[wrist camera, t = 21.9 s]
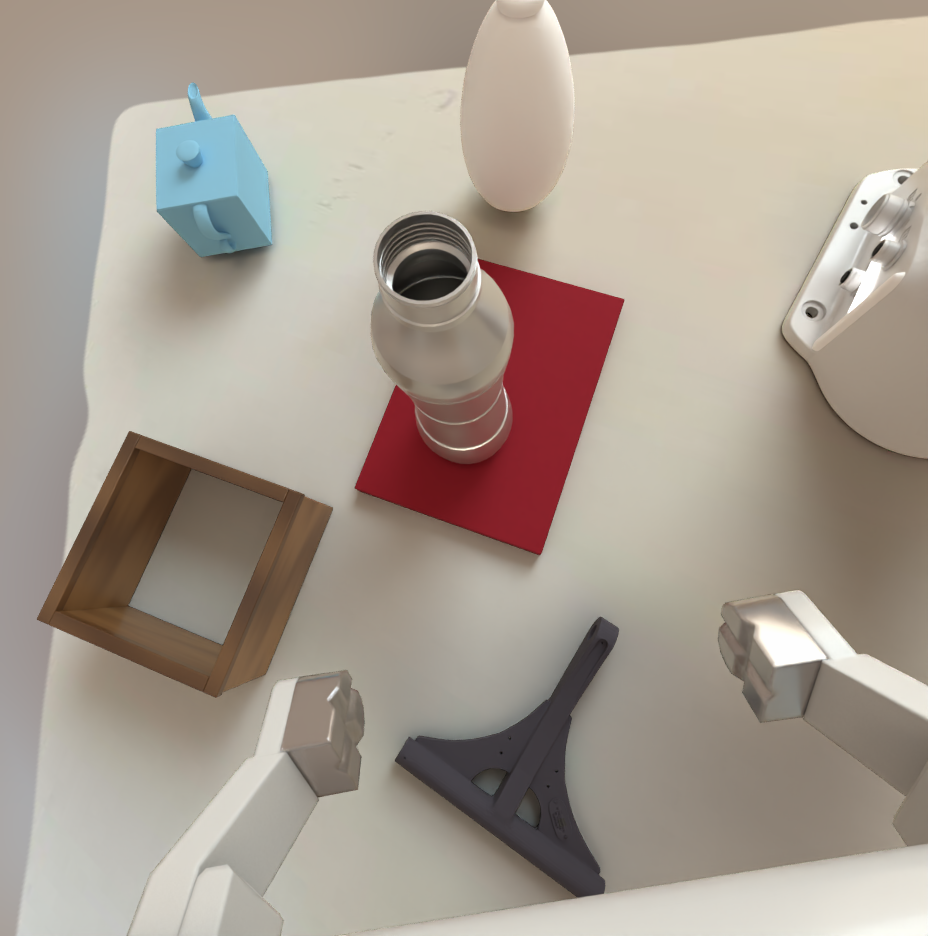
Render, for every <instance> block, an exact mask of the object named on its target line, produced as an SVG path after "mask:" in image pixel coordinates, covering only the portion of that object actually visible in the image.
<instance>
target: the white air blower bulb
mask: <svg viewBox="0 0 928 936" xmlns="http://www.w3.org/2000/svg"><path fill="white" fill-rule="evenodd" d="M574 111H575V95H574V84H573V76H572V69H571V63H570V58H569V54H568V49H567V45H566V42H565V39H564V36H563V33H562V30H561V28H560V25H559V22H558V20H557V17H556V15H555V13H554V11H553V9H552V8H551V6H550V4H549V3H548V2H547V0H496V1H495V2H494V3H493V5H492V6H491V8H490V10H489V11H488V13H487V14H486V17H485V18H484V20H483V22H482V24H481V27H480V29H479V31H478V34H477V36H476V40H475V42H474V45H473V48H472V51H471V54H470V57H469V61H468V65H467V69H466V73H465V78H464V84H463V91H462V99H461V110H460V129H461V141H462V150H463V155H464V159H465V163H466V166H467V170H468V173H469V176H470V178H471V180H472V182H473V184H474V186H475V187H476V189H477V191H478V192H479V194H480V195H481V196H482V197H483V198H484V199H485V200H486V201H487V202H488V203H489V204H490V205H492V206H493V207H495V208H497V209H499V210H502V211H508V212H518V211H524V210H528V209H530V208H532V207H535V206H536V205H537V204H539V203H540V202H541V201H543V200H544V199H545V198H546V197H547V195H548V194H549V193H550V192H551V191H552V189H553V188H554V187H555V185H556V183H557V181H558V180H559V178H560V176H561V174H562V172H563V169H564V167H565V164H566V161H567V157H568V154H569V150H570V146H571V142H572V135H573V127H574Z"/></svg>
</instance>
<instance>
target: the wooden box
mask: <svg viewBox="0 0 928 936" xmlns="http://www.w3.org/2000/svg"><path fill="white" fill-rule="evenodd" d="M191 469H194V470H197V471H199V472H202V473H205V474H208V475H210V476H213V477H216V478H218V479H221V480H224V481H227V482H229V483H232V484H235V485H237V486H240V487H243V488H246V489H248V490H251V491H254V492H256V493H259V494H262V495H265V496H267V497H270V498H273V499H275V500H278V501H281V502H284V503H283V505H282V508H281V510H280V512H279V515H278V517H277V520H276V522H275V524H274V527H273V529H272V531H271V534H270V536H269V538H268V541H267V543H266V545H265V548H264V550H263V552H262V555H261V557H260V559H259V562H258V564H257V567H256V569H255V571H254V574H253V576H252V578H251V581H250V583H249V585H248V588H247V590H246V592H245V595H244V597H243V599H242V602H241V604H240V607H239V609H238V611H237V614H236V616H235V618H234V621H233V623H232V625H231V628H230V630H229V632H228V635H227V637H226V639H225V642H224V644H223V645H220V644H218V643H215V642H213V641H211V640H208V639H206V638H203V637H201V636H199V635H196V634H194V633H192V632H189V631H187V630H184V629H182V628H180V627H177V626H175V625H173V624H170V623H168V622H165V621H163V620H161V619H158V618H156V617H153V616H151V615H149V614H146V613H144V612H142V611H139V610H137V609H134V608H132V607H130V606H128V604H129V602H130V600H131V598H132V596H133V593H134V591H135V589H136V587H137V585H138V583H139V580H140V578H141V576H142V574H143V572H144V570H145V568H146V565H147V563H148V561H149V559H150V557H151V555H152V552H153V550H154V548H155V546H156V544H157V542H158V540H159V537H160V535H161V533H162V531H163V529H164V527H165V524H166V522H167V520H168V518H169V516H170V514H171V511H172V509H173V507H174V505H175V503H176V501H177V499H178V496H179V494H180V492H181V490H182V488H183V486H184V483H185V481H186V479H187V477H188V475H189V473H190V471H191ZM332 510H333V508H332V507H330V506H327V505H325V504H322V503H320V502H317V501H315V500H312V499H310V498H307V497H305V495H304V494H302V493H299V492H297V491H294V490H291V489H288V488H286V487H283V486H280V485H277V484H275V483H272V482H269V481H266V480H264V479H261V478H258V477H255V476H253V475H250V474H247V473H244V472H242V471H239V470H236V469H233V468H230V467H228V466H225V465H222V464H219V463H217V462H214V461H211V460H208V459H206V458H203V457H200V456H197V455H195V454H192V453H189V452H186V451H184V450H181V449H178V448H175V447H173V446H170V445H167V444H164V443H162V442H159V441H156V440H153V439H151V438H148V437H145V436H142V435H140V434H137V433H134V432H131V431H129V433H128V435H127V437H126V439H125V441H124V443H123V445H122V447H121V449H120V451H119V453H118V455H117V457H116V459H115V461H114V463H113V465H112V467H111V469H110V471H109V473H108V475H107V477H106V479H105V481H104V483H103V485H102V487H101V490H100V492H99V494H98V496H97V498H96V500H95V502H94V504H93V506H92V508H91V510H90V512H89V514H88V516H87V518H86V520H85V522H84V524H83V526H82V528H81V530H80V532H79V534H78V536H77V538H76V540H75V542H74V544H73V546H72V548H71V550H70V552H69V554H68V556H67V559H66V561H65V563H64V565H63V567H62V569H61V571H60V573H59V575H58V577H57V579H56V581H55V583H54V585H53V587H52V589H51V591H50V593H49V595H48V597H47V599H46V601H45V603H44V605H43V607H42V609H41V612H40V613H39V616H38V617H37V620H39V621H41V622H44V623H46V624H49V625H50V626H53V627H55V628H57V629H60V630H62V631H64V632H66V633H69V634H71V635H73V636H76V637H78V638H80V639H82V640H85V641H87V642H89V643H92V644H94V645H96V646H98V647H101V648H103V649H105V650H108V651H110V652H112V653H115V654H117V655H119V656H121V657H124V658H126V659H128V660H131V661H133V662H135V663H137V664H140V665H142V666H144V667H147V668H149V669H151V670H153V671H156V672H158V673H160V674H163V675H165V676H167V677H169V678H172V679H174V680H176V681H179V682H181V683H183V684H185V685H188V686H190V687H192V688H195V689H197V690H199V691H202V692H204V693H206V694H209V695H211V696H213V697H215V698H217V697H219V696H221V695H222V692H224V691H227V690H229V689H232V688H234V687H236V686H239V685H241V684H244V683H246V682H248V681H251V680H253V679H256V678H258V677H260V676H263V675H265V674H266V672H267V669H268V667H269V665H270V662H271V660H272V657H273V655H274V652H275V650H276V647H277V645H278V642H279V640H280V638H281V635H282V633H283V630H284V628H285V625H286V623H287V620H288V618H289V615H290V613H291V610H292V608H293V606H294V603H295V601H296V598H297V596H298V593H299V591H300V588H301V586H302V583H303V581H304V579H305V576H306V574H307V571H308V569H309V566H310V564H311V561H312V559H313V556H314V554H315V551H316V549H317V547H318V544H319V542H320V539H321V537H322V534H323V532H324V529H325V527H326V524H327V522H328V520H329V517H330V515H331V512H332Z"/></svg>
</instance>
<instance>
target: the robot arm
mask: <svg viewBox="0 0 928 936" xmlns="http://www.w3.org/2000/svg"><path fill="white" fill-rule="evenodd" d="M806 312H808V313H810V314H811V315H812V318H810V317H808V316H807V315H806ZM782 333H783V335H784V337H785V339H786V340H787V342H788V343H789V344H790V345H791V346H792V347H793V348H794V349H795V350H796V351H797V352H798V353H799V354H800V355H801V356H802V357H803V358H804V359H805V360H806V361H807V362H808V364H809V365H810V367H811V369H812V371H813V373H814V375H815V377H816V380H817V382H818V384H819V387H820V389H821V391H822V393H823V395H824V396H825V398H826V400H827V401H828V403H829V404H830V405H831V407H832V408H833V409H834V411H835V412H836V413H837V414H838V415H839V416H840V417H841V419H842V420H843V421H844V422H845V423H847V424H848V425H849V426H850V427H851V428H852V429H854V430H855V431H856V432H857V433H859V434H860V435H862V436H863V437H865V438H866V439H868V440H870V441H871V442H873V443H875V444H877V445H879V446H881V447H883V448H886V449H888V450H891V451H893V452H896V453H899V454H903V455H907V456H912V457H917V458H925V459H928V161H927V162H926V163H925V164H924V165H922V166H921V167H920V168H919V169H895V170H886V171H881V172H877V173H873V174H870V175H867V176H866V177H865V178H863V179H862V180H861V181H860V182H859V183H858V184H857V185H856V186H855V188H854V189H853V191H852V193H851V195H850V196H849V198H848V200H847V202H846V204H845V206H844V208H843V210H842V211H841V213H840V215H839V217H838V219H837V221H836V223H835V225H834V227H833V229H832V230H831V232H830V234H829V236H828V238H827V240H826V242H825V244H824V246H823V248H822V249H821V251H820V253H819V255H818V257H817V259H816V261H815V263H814V265H813V267H812V268H811V270H810V272H809V274H808V276H807V278H806V280H805V282H804V284H803V285H802V287H801V289H800V291H799V293H798V295H797V297H796V299H795V301H794V303H793V304H792V306H791V308H790V310H789V312H788V314H787V316H786V318H785V320H784V322H783V324H782ZM721 616H722V617H723V619H724V621H725V623H724V624H723V625H722V626H721V627H720V628H719V632H718V643H719V647H720V652H721V654H722V657H723V659H724V662H725V664H726V665H727V667H728V669H729V671H730V672H731V674H733V675H735V676H736V677H738V678H739V679H741V680H742V681H744V685H743V691H742V693H743V695H744V696H745V698H746V700H747V701H748V703H749V705H750V706H751V708H752V710H753V712H754V713H755V715H756V717H757V718H758V720H759V722H760V723H762V722H769V721H777V720H784V719H791V718H798V717H804V718H803V719H804V720H805V721H806V722H808V723H809V724H810V725H812V726H813V727H814V728H816V729H817V730H818V731H820V732H821V733H822V734H824V735H825V736H826V737H828V738H829V739H830V740H832V741H833V742H834V743H836V744H837V745H838V746H840V747H841V748H842V749H844V750H845V751H846V752H848V753H849V754H850V755H852V756H853V757H854V758H855V759H857V760H858V761H859V762H861V763H862V764H863V765H865V766H866V767H867V768H869V769H870V770H871V771H873V772H874V773H875V774H877V775H878V776H879V777H881V778H882V779H883V780H885V781H886V782H887V783H889V784H890V785H891V786H893V787H894V788H895V789H897V790H898V791H899V792H901V793H902V794H903V795H905V796H906V797H905V799H904V801H903V802H902V804H901V806H900V807H899V809H898V811H897V812H896V814H895V816H894V820H893V823H892V824H893V826H894V827H895V829H896V830H897V832H898V833H899V835H900V836H901V838H902V839H903V841H904V842H905V843H906V845H907V846H908V847H901V848H895V849H889V850H882V851H876V852H869V853H863V854H856V855H850V856H844V857H837V858H831V859H824V860H818V861H811V862H805V863H798V864H792V865H786V866H779V867H773V868H766V869H760V870H753V871H747V872H741V873H734V874H728V875H721V876H715V877H708V878H702V879H696V880H689V881H683V882H676V883H670V884H663V885H657V886H650V887H644V888H638V889H631V890H625V891H618V892H612V893H605V894H599V895H593V896H586V897H580V898H573V899H567V900H560V901H554V902H548V903H541V904H535V905H528V906H522V907H515V908H509V909H502V910H496V911H490V912H483V913H477V914H470V915H464V916H458V917H451V918H445V919H438V920H432V921H425V922H419V923H413V924H406V925H400V926H393V927H387V928H380V929H374V930H368V931H361V932H355V933H348V934H342V935H336V936H928V685H926V684H924V683H922V682H920V681H918V680H916V679H914V678H912V677H910V676H908V675H906V674H904V673H903V672H901V671H899V670H897V669H895V668H893V667H891V666H889V665H887V664H885V663H883V662H881V661H879V660H877V659H875V658H873V657H871V656H869V655H868V654H866V653H865V654H857V653H856V652H855V651H854V650H853V648H852V647H851V646H850V645H849V644H848V643H847V641H846V640H845V639H844V638H843V637H842V636H841V635H840V633H839V632H838V631H837V630H836V629H835V628H834V626H833V625H832V624H831V623H830V622H829V621H828V620H827V618H826V617H825V616H824V615H823V614H822V613H821V612H820V610H819V609H818V608H817V607H816V606H815V605H814V603H813V602H812V601H811V600H810V599H809V598H808V597H807V595H806V594H805V593H803V592H802V591H800V590H793V591H788V592H783V593H777V594H773V595H772V594H768V595H763V596H758V597H752V598H747V599H742V600H737V601H731V602H726V603H725V604H724V605H723V606H722V610H721ZM351 684H352V678H351V676H350V674H349V672H348V670H343V671H336V672H329V673H323V674H316V675H309V676H303V677H296V678H290V679H284V680H278V681H277V682H276V684H275V685H274V687H273V688H272V691H271V695H270V698H269V702H268V705H267V709H266V712H265V716H264V720H263V723H262V727H261V730H260V734H259V738H258V741H257V745H256V748H255V752H254V755H253V757H251V758H246V759H245V761H244V762H243V763H242V764H241V765H240V767H239V768H238V769H237V770H236V771H235V773H234V774H233V775H232V776H231V777H230V779H229V780H228V781H227V782H226V783H225V785H224V786H223V787H222V788H221V789H220V791H219V792H218V793H217V794H216V795H215V797H214V798H213V799H212V800H211V801H210V803H209V804H208V805H207V806H206V807H205V809H204V810H203V811H202V812H201V813H200V815H199V816H198V817H197V818H196V819H195V821H194V822H193V823H192V824H191V825H190V827H189V828H188V829H187V830H186V831H185V833H184V834H183V835H182V836H181V837H180V839H179V840H178V841H177V842H176V843H175V845H174V846H173V847H172V848H171V849H170V851H169V852H168V853H167V854H166V855H165V857H164V858H163V859H162V860H161V861H160V863H159V864H158V865H157V866H156V867H155V869H154V870H153V871H152V872H151V873H150V875H149V878H148V880H147V883H146V886H145V888H144V891H143V894H142V896H141V899H140V902H139V904H138V907H137V910H136V912H135V915H134V918H133V920H132V923H131V926H130V928H129V931H128V933H127V936H281V932H282V926H283V919H282V917H281V915H280V914H279V912H277V911H276V910H275V909H274V908H273V907H272V906H271V905H270V904H269V903H268V902H267V901H266V900H265V899H264V898H263V895H264V894H265V892H266V890H267V888H268V887H269V885H270V883H271V882H272V880H273V878H274V876H275V875H276V873H277V871H278V870H279V868H280V866H281V864H282V863H283V861H284V859H285V857H286V856H287V854H288V852H289V851H290V849H291V847H292V845H293V844H294V842H295V840H296V839H297V837H298V835H299V833H300V832H301V830H302V828H303V826H304V825H305V823H306V821H307V820H308V818H309V816H310V814H311V813H312V811H313V809H314V808H315V806H316V804H317V802H318V801H319V799H318V797H322V796H328V795H333V794H338V793H343V792H348V791H353V790H358V785H359V775H360V766H361V755H360V753H359V751H358V749H357V747H356V746H357V744H358V743H359V741H360V740H361V739H362V737H363V736H364V724H365V720H364V707H363V703H362V699H361V696H360V694H359V692H358V691H357V690H355V689H353V688H351Z"/></svg>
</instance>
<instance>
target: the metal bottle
mask: <svg viewBox="0 0 928 936" xmlns="http://www.w3.org/2000/svg"><path fill="white" fill-rule="evenodd" d="M373 263H374V270H375V275H376V278H377V280H378V283H379V292H378V294H377V296H376V298H375V301H374V304H373V308H372V312H371V341H372V347H373V350H374V352H375V355H376V358H377V360H378V362H379V363H380V365H381V366H382V368H383V369H384V371H385V372H386V373H387V375H388V376H389V377H390V379H391V380H392V381H393V382H394V383H395V384H396V385H397V386H398V387H399V388H401V389H402V390H403V391H404V392H405V393H406V394H407V395H408V396H409V397H410V398H411V399H412V401H413V402H414V405H415V416H416V422H417V427H418V430H419V433H420V435H421V437H422V439H423V440H424V442H425V443H426V445H427V446H428V447H429V448H430V449H431V450H432V451H433V452H435V453H436V454H438V455H439V456H441V457H443V458H445V459H447V460H449V461H452V462H455V463H460V464H472V463H478V462H481V461H483V460H486V459H488V458H489V457H491V456H493V455H494V454H495V453H496V452H497V451H498V450H499V449H500V448H501V446H502V445H503V444H504V442H505V441H506V439H507V437H508V435H509V433H510V430H511V426H512V407H511V403H510V400H509V397H508V395H507V392H506V390H505V388H504V386H503V375H504V372H505V369H506V366H507V364H508V361H509V358H510V354H511V349H512V344H513V338H514V322H513V317H512V313H511V309H510V307H509V305H508V302H507V300H506V298H505V296H504V295H503V293H502V291H501V290H500V288H499V287H498V285H497V284H496V283H495V281H494V280H493V279H492V278H491V277H490V276H489V275H488V274H487V273H486V272H485V271H484V270H482V269H480V266H479V263H478V258H477V251H476V247H475V244H474V242H473V239H472V237H471V235H470V234H469V232H468V231H467V229H466V228H465V227H464V226H463V225H462V224H461V223H460V222H458V221H457V220H455V219H454V218H452V217H450V216H448V215H445V214H443V213H439V212H434V211H418V212H413V213H409V214H407V215H404V216H401V217H400V218H398V219H396V220H395V221H393V222H392V223H391V224H390V225H389V226H387V227H386V228H385V230H384V231H383V232H382V233H381V235H380V237H379V239H378V241H377V243H376V246H375V249H374V256H373Z"/></svg>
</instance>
